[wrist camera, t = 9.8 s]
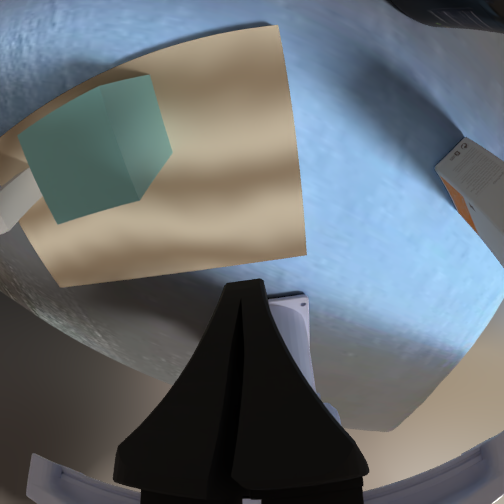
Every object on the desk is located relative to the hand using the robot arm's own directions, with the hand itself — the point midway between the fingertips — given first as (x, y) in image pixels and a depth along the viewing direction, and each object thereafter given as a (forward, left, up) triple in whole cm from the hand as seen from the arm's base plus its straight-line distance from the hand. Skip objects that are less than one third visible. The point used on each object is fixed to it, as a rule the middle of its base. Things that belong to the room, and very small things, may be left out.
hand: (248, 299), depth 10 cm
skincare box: (-1, -17, -10) cm, 20 cm away
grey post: (+5, +17, -9) cm, 20 cm away
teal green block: (+6, +7, -9) cm, 13 cm away
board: (+2, +9, -10) cm, 13 cm away
